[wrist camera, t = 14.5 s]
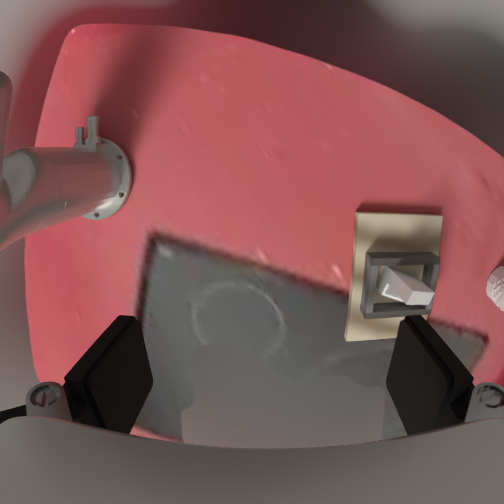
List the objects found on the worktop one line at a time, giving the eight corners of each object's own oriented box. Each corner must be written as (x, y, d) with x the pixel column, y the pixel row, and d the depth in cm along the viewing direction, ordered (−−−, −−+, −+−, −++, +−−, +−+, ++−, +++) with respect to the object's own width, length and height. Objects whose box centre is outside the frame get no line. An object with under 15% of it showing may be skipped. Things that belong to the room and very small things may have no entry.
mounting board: (355, 211, 41) (364, 217, 37) (438, 214, 41) (452, 220, 36) (344, 336, 47) (350, 351, 43) (419, 330, 46) (430, 343, 42)
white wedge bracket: (364, 259, 39) (412, 290, 32) (401, 267, 44) (443, 293, 37) (353, 284, 40) (399, 317, 33) (392, 288, 45) (432, 315, 38)
